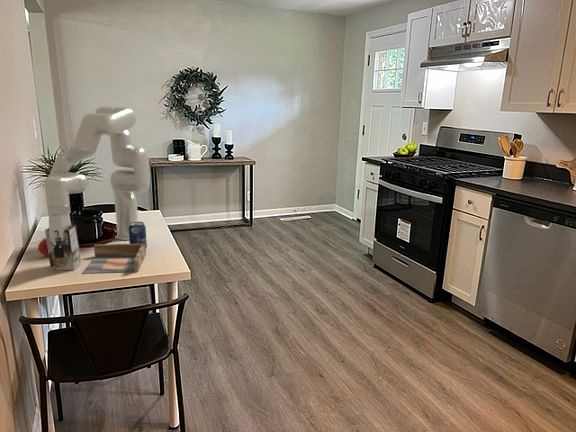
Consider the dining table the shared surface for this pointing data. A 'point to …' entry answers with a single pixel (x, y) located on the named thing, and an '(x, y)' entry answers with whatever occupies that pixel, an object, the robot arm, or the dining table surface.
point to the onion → (43, 247)
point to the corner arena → (116, 258)
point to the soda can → (137, 233)
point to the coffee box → (65, 251)
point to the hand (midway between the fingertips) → (64, 252)
